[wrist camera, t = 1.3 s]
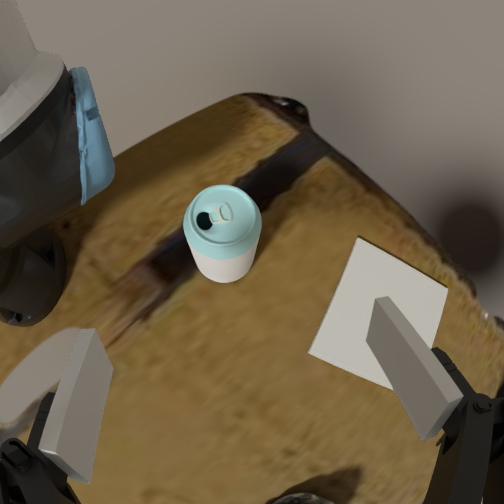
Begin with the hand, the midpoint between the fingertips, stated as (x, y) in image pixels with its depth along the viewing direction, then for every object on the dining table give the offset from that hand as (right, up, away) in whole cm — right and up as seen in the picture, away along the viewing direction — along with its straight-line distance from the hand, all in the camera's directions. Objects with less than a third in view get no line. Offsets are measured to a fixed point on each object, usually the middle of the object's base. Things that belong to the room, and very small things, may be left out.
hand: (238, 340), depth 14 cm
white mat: (+18, -5, +23) cm, 29 cm away
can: (-3, +4, +24) cm, 24 cm away
